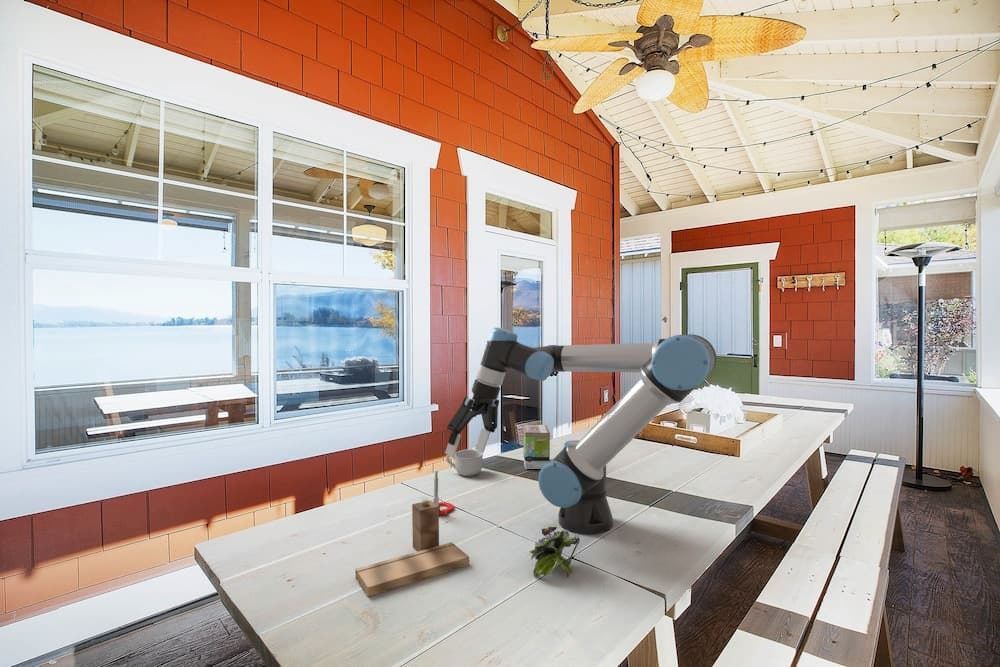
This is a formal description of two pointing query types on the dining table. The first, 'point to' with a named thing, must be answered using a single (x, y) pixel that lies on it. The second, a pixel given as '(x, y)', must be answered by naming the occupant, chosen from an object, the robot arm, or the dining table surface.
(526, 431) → the tea box
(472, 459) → the teacup
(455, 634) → the dining table surface
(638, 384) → the robot arm
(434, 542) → the block
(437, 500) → the tow hook
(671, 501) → the dining table surface
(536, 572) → the passion flower
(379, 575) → the board
